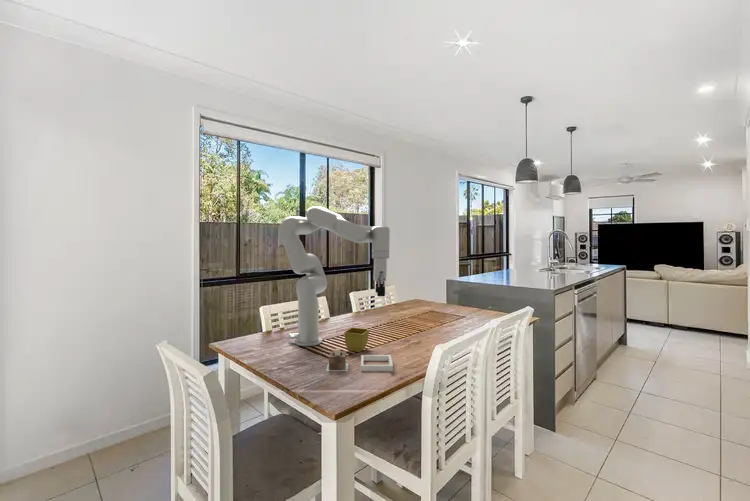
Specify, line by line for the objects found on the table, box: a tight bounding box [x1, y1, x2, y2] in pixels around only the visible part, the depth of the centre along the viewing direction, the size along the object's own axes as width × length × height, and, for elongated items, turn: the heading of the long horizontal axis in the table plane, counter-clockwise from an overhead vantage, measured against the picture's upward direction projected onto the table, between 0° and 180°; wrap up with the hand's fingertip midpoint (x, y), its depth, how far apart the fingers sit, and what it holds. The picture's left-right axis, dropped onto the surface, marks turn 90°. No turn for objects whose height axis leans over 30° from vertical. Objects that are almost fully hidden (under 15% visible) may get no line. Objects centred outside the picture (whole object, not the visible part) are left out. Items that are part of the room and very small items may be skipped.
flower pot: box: [343, 327, 370, 353], centre depth 160 cm, size 9×9×9 cm
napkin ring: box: [328, 351, 347, 370], centre depth 139 cm, size 6×6×5 cm
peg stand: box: [325, 348, 349, 372], centre depth 139 cm, size 8×8×7 cm
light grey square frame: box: [360, 354, 394, 373], centre depth 142 cm, size 12×12×2 cm
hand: (380, 294), depth 158 cm, fingers open, 9 cm apart
